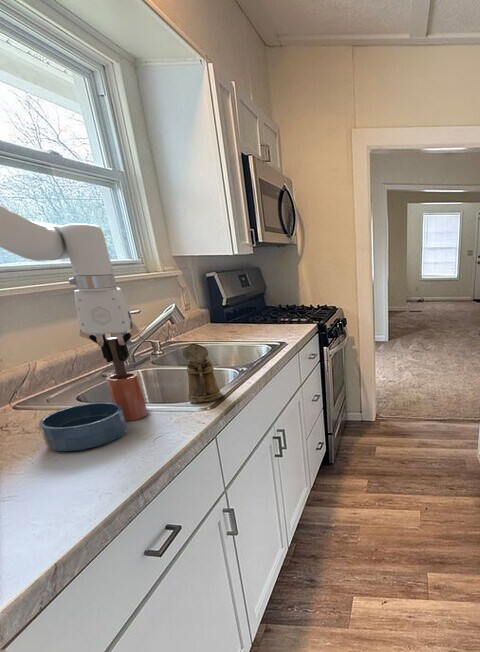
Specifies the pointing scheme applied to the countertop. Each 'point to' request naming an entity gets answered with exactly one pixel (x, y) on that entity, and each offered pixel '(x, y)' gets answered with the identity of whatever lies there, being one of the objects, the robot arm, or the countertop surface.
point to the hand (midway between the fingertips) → (117, 360)
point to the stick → (116, 358)
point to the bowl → (83, 426)
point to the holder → (128, 395)
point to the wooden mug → (200, 375)
